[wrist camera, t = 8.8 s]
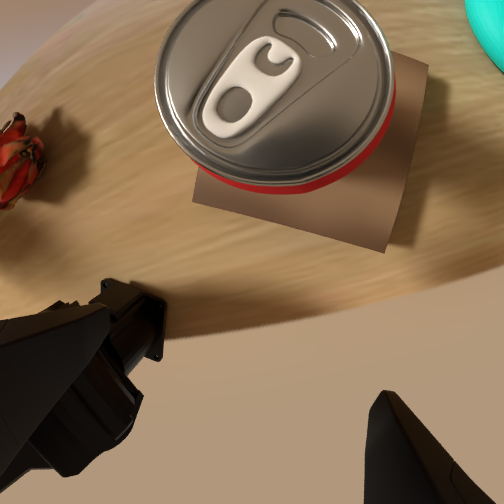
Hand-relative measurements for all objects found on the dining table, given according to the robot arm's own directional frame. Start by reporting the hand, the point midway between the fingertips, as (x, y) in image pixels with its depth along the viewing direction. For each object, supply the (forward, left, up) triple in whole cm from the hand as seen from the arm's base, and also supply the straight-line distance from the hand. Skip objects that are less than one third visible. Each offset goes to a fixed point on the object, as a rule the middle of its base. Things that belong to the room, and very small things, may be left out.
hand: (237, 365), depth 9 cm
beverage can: (+8, +1, -11) cm, 13 cm away
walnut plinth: (+8, 0, -13) cm, 15 cm away
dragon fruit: (+2, +26, -13) cm, 29 cm away
